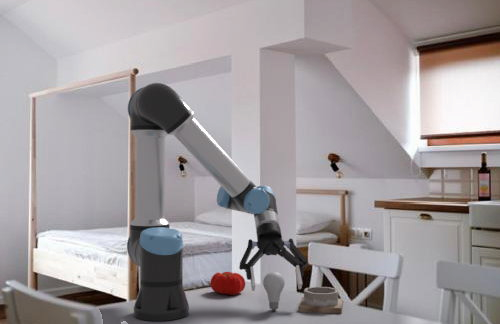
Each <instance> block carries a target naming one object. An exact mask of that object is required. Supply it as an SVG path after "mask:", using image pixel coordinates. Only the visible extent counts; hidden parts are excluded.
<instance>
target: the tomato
mask: <svg viewBox="0 0 500 324" xmlns="http://www.w3.org/2000/svg"><path fill="white" fill-rule="evenodd" d="M209 283H210V288H211V289H212V291H214V292H215V293H218V294H221V295H229V296H234V295H238V294H240V293H241V292H243V291H244V289H245V287H246V280H245V278H244V277H243V275H241V273H238V272H231V271H224V272H223V271H222V272H215V274H213V276H211V279H210V282H209Z"/></svg>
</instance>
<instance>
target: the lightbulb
mask: <svg viewBox="0 0 500 324" xmlns="http://www.w3.org/2000/svg"><path fill="white" fill-rule="evenodd" d="M262 283H263V285H262V286H263V287H264V290H265V291H266V294H267V300H268V303H269V305H268V307H269V309H270V310H271V311H272V312H273V311H276V310H278V309H279V302H280V297H281V293H282V292H283V289H284V288H285V285H286V284H285V278H284V276H283V275H282V274H281V273H279V272H278V271H270V272H269V273H266V274H265V276H264V277H263V280H262Z"/></svg>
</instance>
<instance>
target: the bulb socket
mask: <svg viewBox="0 0 500 324" xmlns="http://www.w3.org/2000/svg"><path fill="white" fill-rule="evenodd" d="M343 305H344V298H339V289H337V288H335V287H334V288H333V287H329V286H310V287H306V288H304V290H303V297H302V298H301V300H300V302H299V304H298V309H297V311H298V313H299V312H300V313H319V314H320V313H321V314H322V313H323V314H342V313H343Z"/></svg>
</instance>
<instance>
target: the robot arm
mask: <svg viewBox="0 0 500 324" xmlns="http://www.w3.org/2000/svg"><path fill="white" fill-rule="evenodd" d="M127 113H128V116H129V118H130V133H132V135H133V136H134V137H135V206H134V207H135V211H134V212H135V217H134V219H133V220H131V221H130V224H129V237H128V239H127V243H126V251H127V254H128V256H129V259H130V260H131V262H133V263H134V264H135V265H136V266H138V267H139V269H140V270H139V275H140V276H139V289H138V294H137V296H136V299H135V302H134V305H133V317H134V318H136V319H138V320H142V321H149V322H150V321H151V322H153V321H154V322H163V321H164V322H165V321H173V320H179V319H182V318H185V317H187V316H189V314H190V305H189V303H188V302H189V301H188V298H187V295H186V293H185V289H184V286H183V285H184V283H183V272H184V271H183V265H184V264H183V259H184V258H183V257H184V256H183V251H184V250H183V247H184V241H183V234H182V232H180V230H178V229H176V228H175V229H174V228H170V222H169V221H168V219H166V217H165V195H166V193H165V190H166V189H165V185H166V184H165V179H166V178H165V176H166V175H165V174H166V173H165V172H166V171H165V166H166V164H165V163H166V160H165V159H166V158H165V157H166V148H165V147H166V146H165V145H166V137H167V136H168V135H169V136H174V137H175V138H176V139H177V140H178V142H180V143H181V144H182V146H183V147H185V149H186V150H187V151H188V152H189V153H190V154H191V155H192V156H193V157H194V158H195V160H197V163H199V164H200V165H201V166H202V167H203V169H205V170H206V171H207V172H208V173H209V175H210V176H212V178H213V179H214V180H215V181H216V182H217V183H218V184H219V185H220V187H219V189H218V190H217V194H216V203H217V205H218V207H220V208H223V209H226V210H231V211H237V212H241V213H245V214H249V215H253V216H254V223H255V230H256V231H255V233H256V239H257V240H256V241H254V240H252V239H248V242H247V247H246V250H245V251H244V254H243V256H242V258H241V259H240V262H239V267H238V268H239V270H241V271H242V270H244V272H245V275H246V280H249V281H250V284H251V285H250V288H251V291H252V292H254V291H256V290H255V289H256V279H255V273H254V272H255V271H254V266H255V265H256V264H257V262H258V261H259V260H260V259H261V258H262V257H263V256H264V255H266V256H279V257H281V258H283V259H284V260H285V261H287V262H288V263H289V264H291V265H292V266H293V267H294V268H295V271H294V272H295V278H296V283H297V289H298V290H302V287H303V278H304V276H305V272H304V269H306V268H308V267H307V266H308V263H309V261H308V259H307V258H306V257H305V256H304V254H303V253H302V252H301V251H300V249H298V247H297V245H295V241H294V239H293V238H289V239H288V240H284V239H283V237H282V231H281V225H280V224H281V223H280V219H279V213H278V209H277V208H278V207H277V198H276V196H275V193H274V190H273V189H272V187H270V186H268V185H262V186H261V185H258V186H256V185H255V183H254V182H253V181H252V180H251V179H250V177H248V176H247V174H245V172H244V171H243V170H242V169H241V168H240V167H239V166H238V165H237V164H236V162H235V161H234V160H233V159H232V158H231V157H230V156H229V155H228V154H227V152H225V150H224V149H223V148H222V147H221V146H220V145H219V144H218V143H217V141H216V140H215V139H214V138H213V137H212V135H210V134H209V133H208V132H207V130H206V129H205V128H204V127H203V126H202V125H201V124H200V123H199V122H198V120H197V118H195V117H194V110H193V109H192V108H191V107H190V106H189V105H188V104H187V102H186V101H185V100H184V99H183V98H182V97H181V96H180V95H179V94H178V93H177V91H176V90H174V89H173V88H172V87H171V86H169V85H167V84H164V83H161V82H153V83H149V84H148V85H145V86H143V87H141V88H139V89H137V90H136V91H135V92H133V93H132V94H131V96H130V98H129V100H128V103H127ZM255 247H256V248H257V249H258V250H257V251H256V253H255V254H254V255H253V256H252V257H251V258H250V255H251V254H252V253H251V252H252V250H254V249H255ZM286 248H287V249H288V250H287V249H286ZM289 251H290V252H289ZM249 258H250V260H249ZM248 260H249V261H248ZM247 261H248V262H247Z"/></svg>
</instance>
